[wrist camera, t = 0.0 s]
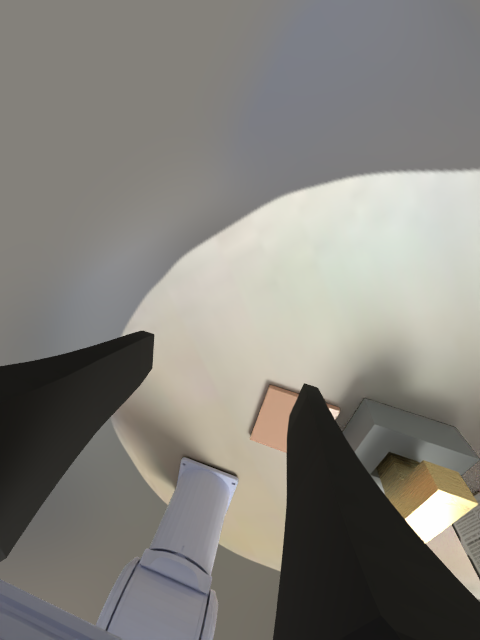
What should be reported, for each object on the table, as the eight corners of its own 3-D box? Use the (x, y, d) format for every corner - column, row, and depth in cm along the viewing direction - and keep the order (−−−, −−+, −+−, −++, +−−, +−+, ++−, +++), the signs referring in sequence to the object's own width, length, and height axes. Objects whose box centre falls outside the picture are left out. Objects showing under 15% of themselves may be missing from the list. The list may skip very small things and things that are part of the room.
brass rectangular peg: (379, 467, 24) (408, 556, 18) (356, 459, 24) (377, 544, 18) (422, 416, 20) (478, 504, 14) (395, 407, 21) (438, 489, 14)
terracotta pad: (310, 457, 25) (310, 461, 25) (250, 435, 26) (249, 439, 26) (339, 407, 22) (340, 411, 21) (269, 384, 23) (269, 387, 22)
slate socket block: (406, 477, 24) (420, 510, 21) (330, 451, 24) (334, 479, 22) (455, 427, 20) (479, 459, 17) (364, 397, 21) (374, 424, 18)
